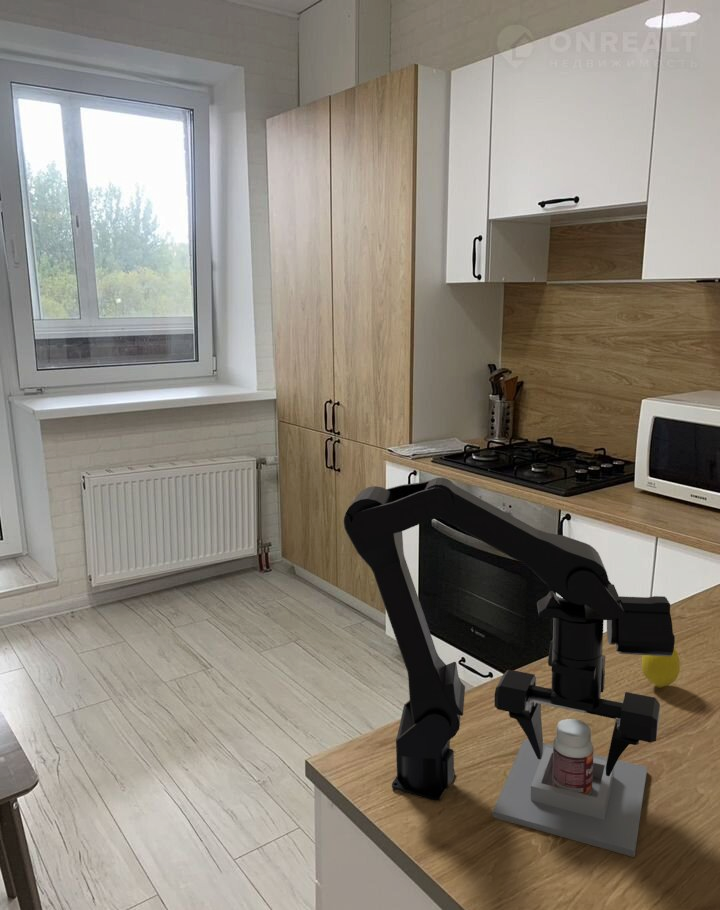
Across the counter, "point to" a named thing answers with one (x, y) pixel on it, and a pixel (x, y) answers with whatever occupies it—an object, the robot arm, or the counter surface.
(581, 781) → the pill bottle
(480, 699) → the counter surface
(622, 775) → the bottle stand
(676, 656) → the lemon
